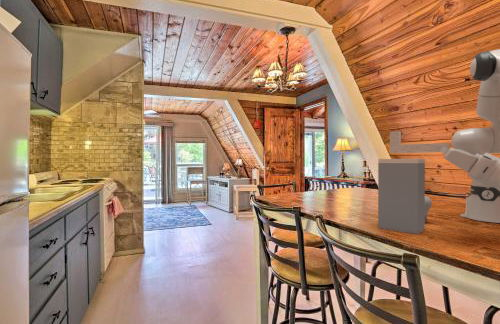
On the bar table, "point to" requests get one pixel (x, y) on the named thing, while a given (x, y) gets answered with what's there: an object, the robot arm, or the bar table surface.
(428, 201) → the lightbulb
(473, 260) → the bar table surface
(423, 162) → the stand
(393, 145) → the block
